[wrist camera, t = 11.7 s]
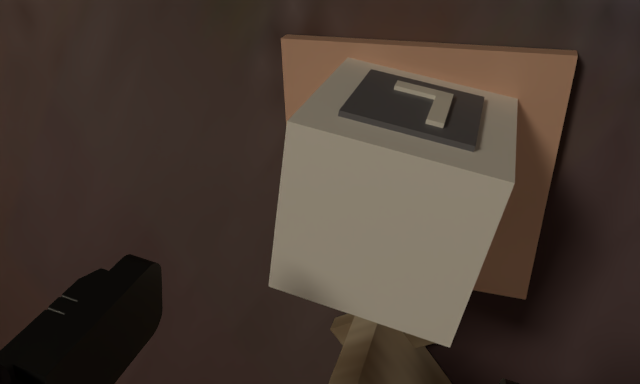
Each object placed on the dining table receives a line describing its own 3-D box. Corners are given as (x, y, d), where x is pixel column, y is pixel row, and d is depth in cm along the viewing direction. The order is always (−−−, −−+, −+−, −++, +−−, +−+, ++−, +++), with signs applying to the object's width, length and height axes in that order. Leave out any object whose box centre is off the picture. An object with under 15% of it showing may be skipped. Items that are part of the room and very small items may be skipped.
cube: (467, 238, 21) (449, 347, 17) (324, 195, 23) (268, 286, 18) (521, 89, 18) (519, 172, 13) (349, 48, 19) (288, 110, 14)
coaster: (299, 250, 25) (294, 258, 25) (287, 34, 20) (281, 38, 20) (525, 290, 22) (525, 299, 22) (576, 50, 17) (578, 55, 17)
